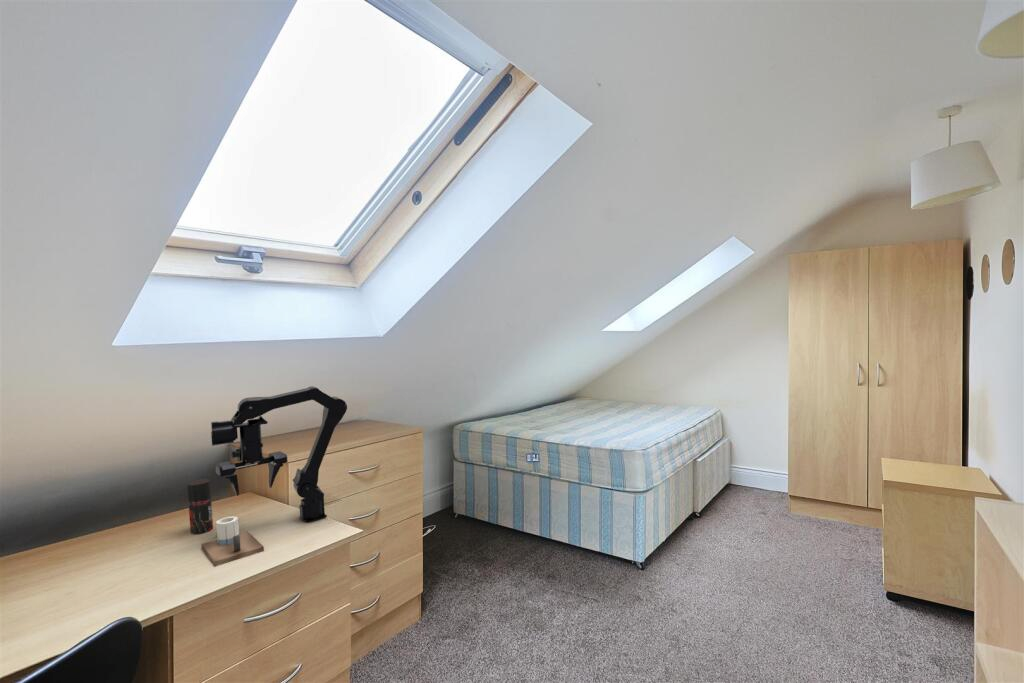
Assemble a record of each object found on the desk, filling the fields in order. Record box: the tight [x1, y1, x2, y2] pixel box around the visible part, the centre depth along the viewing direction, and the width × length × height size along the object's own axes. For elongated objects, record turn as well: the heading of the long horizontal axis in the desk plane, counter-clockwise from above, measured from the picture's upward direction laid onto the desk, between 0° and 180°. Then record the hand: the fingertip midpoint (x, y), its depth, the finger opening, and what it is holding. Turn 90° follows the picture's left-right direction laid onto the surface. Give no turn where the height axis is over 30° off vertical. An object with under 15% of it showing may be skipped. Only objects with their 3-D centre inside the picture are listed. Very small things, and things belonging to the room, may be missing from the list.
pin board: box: [201, 530, 265, 567], centre depth 145 cm, size 12×15×5 cm
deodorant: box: [186, 478, 214, 535], centre depth 159 cm, size 6×6×15 cm
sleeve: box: [215, 516, 240, 545], centre depth 148 cm, size 5×5×6 cm
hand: (254, 491), depth 157 cm, fingers open, 9 cm apart
